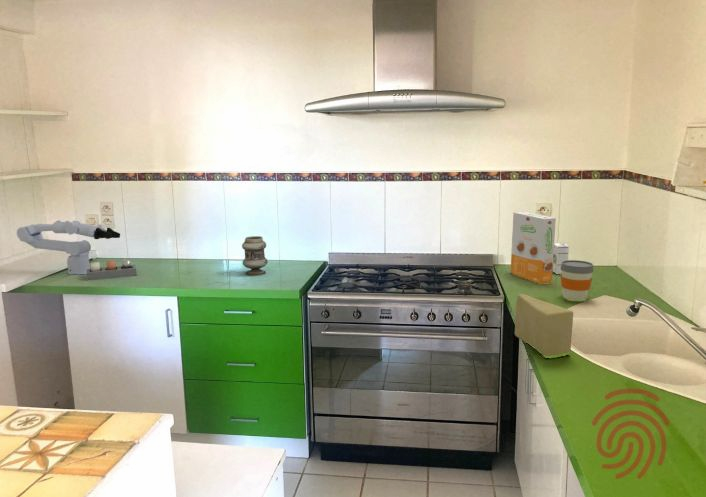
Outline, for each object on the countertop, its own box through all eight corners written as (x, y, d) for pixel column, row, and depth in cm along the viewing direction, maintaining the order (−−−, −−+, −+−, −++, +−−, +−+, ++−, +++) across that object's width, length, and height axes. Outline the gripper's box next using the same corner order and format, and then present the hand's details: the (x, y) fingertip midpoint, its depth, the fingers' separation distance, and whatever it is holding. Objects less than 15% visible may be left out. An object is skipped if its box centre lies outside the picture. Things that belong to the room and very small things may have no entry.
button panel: (136, 275, 282) (135, 268, 281) (87, 280, 273) (86, 273, 273) (135, 271, 290) (135, 264, 289) (87, 275, 281) (86, 269, 281)
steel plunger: (121, 269, 282) (120, 261, 281) (124, 267, 286) (124, 259, 285) (129, 269, 282) (128, 261, 281) (132, 267, 285) (132, 259, 285)
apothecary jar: (240, 272, 287) (238, 236, 284) (263, 269, 292) (262, 234, 289) (246, 277, 277) (245, 240, 273) (271, 274, 282) (269, 238, 278)
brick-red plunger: (105, 270, 279) (104, 262, 278) (109, 268, 283) (108, 260, 282) (113, 270, 279) (112, 262, 278) (117, 268, 283) (116, 260, 282)
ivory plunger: (89, 272, 276) (88, 264, 276) (93, 270, 280) (93, 262, 280) (97, 272, 276) (96, 264, 275) (101, 270, 280) (101, 262, 279)
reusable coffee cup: (571, 304, 231) (573, 267, 228) (552, 296, 243) (554, 261, 240) (597, 301, 234) (600, 265, 231) (578, 293, 246) (580, 259, 243)
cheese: (503, 336, 196) (505, 294, 193) (528, 333, 199) (530, 291, 196) (545, 360, 175) (548, 313, 172) (571, 356, 178) (575, 309, 175)
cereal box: (551, 283, 262) (555, 218, 256) (540, 284, 260) (544, 219, 254) (521, 272, 283) (524, 211, 277) (510, 273, 281) (513, 212, 275)
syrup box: (567, 275, 277) (569, 245, 274) (555, 275, 277) (557, 245, 274) (563, 272, 283) (565, 243, 280) (551, 272, 283) (553, 243, 280)
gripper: (82, 222, 275) (108, 227, 273) (99, 222, 289) (124, 227, 288) (79, 237, 276) (105, 242, 274) (97, 236, 290) (122, 241, 288)
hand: (115, 235), depth 281 cm, fingers open, 7 cm apart
